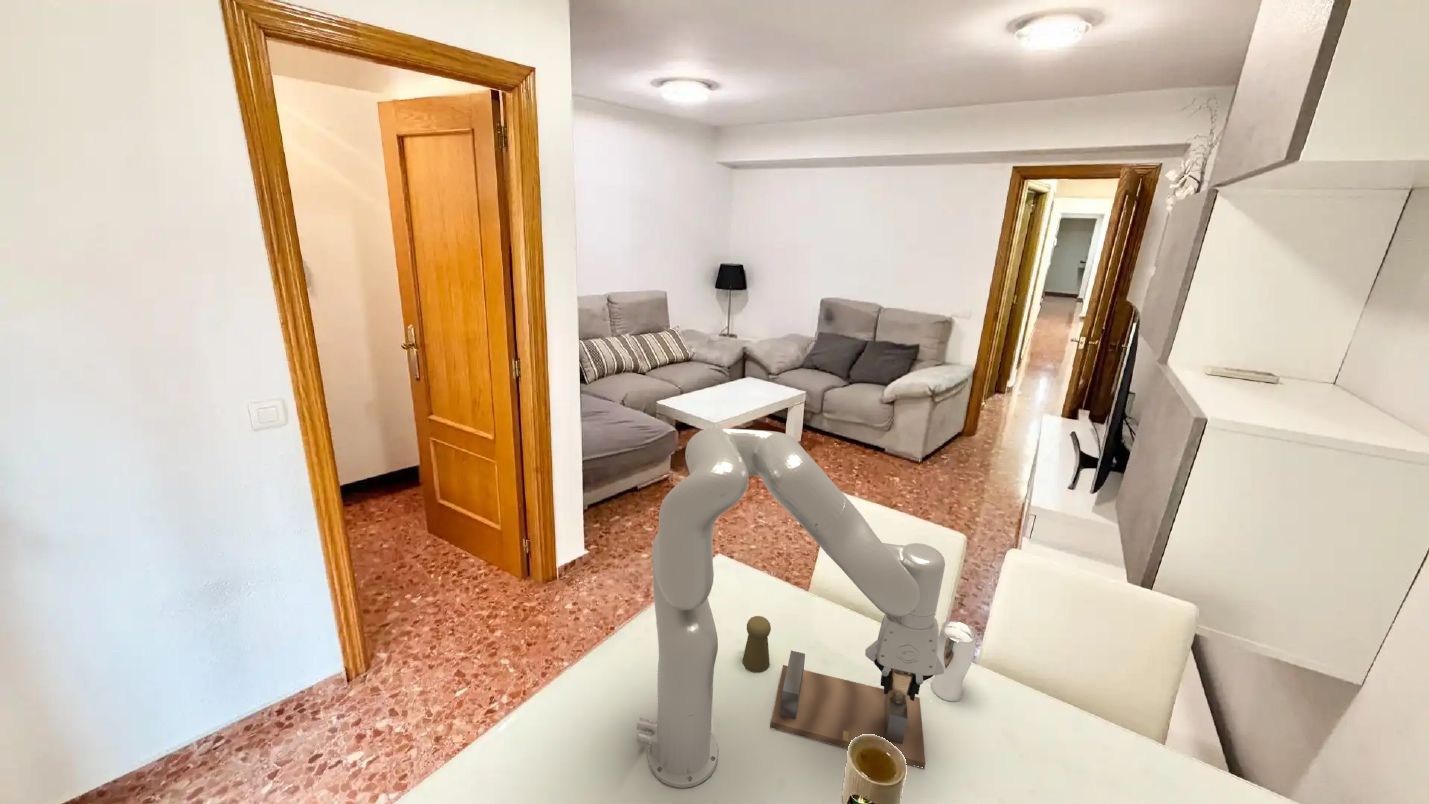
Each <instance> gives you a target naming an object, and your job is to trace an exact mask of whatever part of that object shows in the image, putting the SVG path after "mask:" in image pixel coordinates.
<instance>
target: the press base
mask: <svg viewBox="0 0 1429 804" xmlns="http://www.w3.org/2000/svg"><path fill="white" fill-rule="evenodd" d="M805 658H806V653H804V652H800V651H796V650H790V654H789V658H788V662H787V665H785V664H782V669H781V673H780V677H779V678H780V679H779V681H778V687H777V691H776V697H775V701H774V705H773V709H772V713H771V714H772V715H771V719H770V727H769V728H770V729H774V730H778V731H782V732H785V733H789V734H793V735H796V736H799V737H802V738H807V739H811V740H815V741H818V742H823V743H827V744H829V745H833V746H836V747H840V748H844V749H847V748H848V746H849V744H850V742H851V740H853V739H854V738H855V737H858V736H860V735H862V734H875V735H877V736H880V737H883V738H885V739H886V720H885V695H886V694H884V688H880V687H877V686H873V685H868V684H864V683H860V682H856V681H852V680H848V679H844V678H841V677H840V678H839V677H834V676H831V675H826V674H823V673H818V672H815V671H810V670H807V669H805ZM920 699H921V698H920V697H919V696H915V698H914V701H912V700H911V699H910V696H909V700H908V702H907V724H906V729H905V734H904V740H903V744H901V743H898V742H894V741H890V740H888V741H889V742H891V743H892V744H893V745H894V746H896V747H897V748H898V749H899V750H900V751H901V752H902V754H903V755H904V757H905V759H906V763H907V764H906V765H908V766H910V765H915V766H919V767H923V768H924V769H925V768H926V755H925V745H924V743H925V742H924V733H923V731H924V730H923V721H922V710H921V700H920Z"/></svg>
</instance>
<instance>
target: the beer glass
mask: <svg viewBox="0 0 1429 804" xmlns="http://www.w3.org/2000/svg"><path fill="white" fill-rule="evenodd" d="M939 631H940V632H939V641H938V652H937V656H938V658H939V660H940V661H941V663H942V665H943V667H944V673H943V674H940V675H936V676H935V675H934V676H933V677H934V678H933V679H932V681H931V684H930V686H931V689H932V692H933V693H934V694H935V695H936V696H937V697H938V698H940V699H942V700H944V701H946V702H951V703H952V702H953V703H954V702H958V701H960V700H961V699H962V698H963V694H964V693H963V684H964V680H965V678H966V677H967V674H968V672H969V670H970V667H971V665H972V663H973V661H974V657H975V656H974V655H975V651H976V643H977V642H976V641H977V639H978V638H977V633H976V631H975V630H974V629H973V628H971V627H970V626H969V625H967V624H966V623H964V622H960V621H957V620H948V621H945V622H943V623H942V624H941V628H940V630H939Z"/></svg>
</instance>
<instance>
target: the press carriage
mask: <svg viewBox="0 0 1429 804" xmlns="http://www.w3.org/2000/svg"><path fill="white" fill-rule="evenodd" d="M913 674H914V673H910V672H906V671H902V670H897V669H893V668H891V670H890V676H891V679H890V685H889V691H888V694H886V695H885V720H886V740H890V741H894V742H898V743H901V744H903V740H904V734H905V729H906V724H907V702H908V700H909V696H910V690H911V685H912V680H913Z"/></svg>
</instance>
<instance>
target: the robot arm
mask: <svg viewBox="0 0 1429 804" xmlns="http://www.w3.org/2000/svg"><path fill="white" fill-rule="evenodd" d="M684 454H685V463H686V466H687V470H688V472H689V475H688V476H687V477H685V478H684V479H682V480H681V481H679V482H678V483H677V484H676V485H675V486H673V488H672V489H671V490H670V491H669V492H668V493H667V494H666V495H665V496H664V499H663V500H662V502H661V505H660V508H659V513H658V531H657V534H655V537H654V539H653V542H652V548H651V549H652V550H651V551H652V552H651V556H652V557H651V558H652V559H651V561H652V581H653V584H652V585H653V586H652V587H653V601H654V611H655V613H654V614H655V620H656V621H655V622H656V623H655V624H656V630H657V632H656V633H657V642H658V643H657V644H658V660H657V661H658V663H657V720H655V721H651V720H649V719H647V718H643V717H639V718H638V720H637V722H636V723H637V724H636V729H637V730H639V731H642V732H639V734H638V737H637V741H638V742H641V743H643V744H644V743H646V744H649V746H648V751H647V752H648V753H647V754H648V755H647V756H648V763H649V768H650V769H651V771H652V773H653V774H654V776H655V777H656V778H657V779H658V780H660V781H661V782H662V783H664V784H665V785H668V786H670V787H672V788H673V787H674V788H679V789H681V788H682V789H683V788H690V787H691V788H692V787H695V786H697V785H699V784H702V783H704V782H705V781H706V780H707V779H708V778H710V777H711V775H712V774H713V773H714V771H715V770H716V768H717V767H716V766H717V764H718V760H719V745H718V742H717V739H716V737H715V735H713V732H712V719H713V718H712V715H713V713H712V712H713V698H714V697H713V692H714V671H715V664H716V659H717V655H718V651H719V650H718V649H719V643H718V642H719V639H718V633H717V629H716V623H715V620H714V617H713V613H712V612H713V611H712V609H711V605H710V602H709V598H708V597H709V596H710V593H711V591H712V588H713V584H714V577H715V576H714V575H715V572H714V571H715V570H714V560H713V559H714V556H713V538H714V537H713V536H714V526H715V523H716V521H717V520H718V519H719V518H720V516H721V515H723V514H724V513H725V512H727V511H729V510H730V509H731V508H732V507H734V506H735V505H736V504H737V503H739V502H740V500H741V499H742V498H743V497H744V495H745V494H746V492H747V490H748V488H749V487H748V486H749V479H750V477H756V476H757V477H758V476H759V477H760V479H761V481H762V483H763V484H764V485H765V486H764V487H766V490H767V491H768V492H769V494H770V495H771V496H772V497H773V498H774V499H775V500H776V501H777V503H779V504H780V506H781V507H783V508H784V509H785V510H786V511H787V513H788V514H789V515H790V516H792V518H793V519H794V520H795V521H796V522H797V523H798V524H799V525H800V526H801V527H802V528H803V529H804V530H805V531H806V532H807V533H808V535H809V536H810V537H812V539H813V540H814V541H815V542H816V543H817V544H818V545H819V547H820V548H821V550H823V551H824V553H826V555H827V556H828V557H829V558H830V559H831V560H832V561H833V562H834V563H835V564H836V565H837V566H838V567H839V568H840V569H841V570H842V571H843V572H844V574H845V575H846V576H847V577H848V578H849V580H851V581H852V583H853V584H854V585H855V586H856V587H857V588H858V590H860V591H861V593H863V595H864V596H865V597H866V598H867V599H868V600H869V601H870V602H871V603H872V604H873V605H874V606H875V607H876V608H877V609H878V611H880V612H881V613H883V614H884V615H883V618H882V620H881V621H882V622H881V625H880V628H879V632H878V637H877V640H875V641H874V642H872V643H871V644H870V645H869V646H868V647H866V648H865V651H864V654H865V655H864V656H865V657H866V658H868V659H869V660H870V661H872V662H873V664H874V665H875V666H876V667H877V668H878V669H879V671H880V672H881V676H880V686H881V687H883V689H884V694H888V691H889V685H890V679H891V676H890V671H891V668H893V669H897V670H902V671H906V672H910V673H914V674H913V680H912V685H911V690H910V699H911V700H912V701H914V698H915V697H916V695H917V696H919V693H920V689H921V685H923V684H924V682H925V681H927V680H929V679H932V678H933V677H935V676H936V675H940V674H943V673H944V667H943V665H942V663H941V661H940V660H939V658H938V656H937V652H938V641H939V634H940V632H939V631H940V630H939V624H938V620H937V618H936V614H937V609H938V605H939V599H940V594H941V588H942V584H943V579H944V573H945V567H946V560H945V558H944V556H943V554H942V553H941V552H940V551H939V550H938V549H936V548H935V547H933V546H930V545H929V544H925V543H909V544H905V545H903V544H900V545H899V544H894V543H893V544H892V543H886V542H882V540H880V538H879V537H878V536H877V534H876V533H875V531H874V530H873V529H872V527H871V526H870V524H869V523H868V522H867V521H866V519H865V518H864V516H863V515H862V513H860V511H859V510H858V509H857V508H856V506H855V505H854V504H853V503H852V502H851V501H850V499H848V498H847V496H846V495H845V494H844V493H843V492H842V491H841V489H840V488H839V487H838V486H837V485H836V484H835V483H834V482H833V481H832V479H831V478H830V477H829V476H828V475H827V474H826V472H825V471H823V469H822V468H821V467H820V466H819V465H818V463H817V462H816V461H815V460H814V459H813V458H812V456H811V455H809V453H807V450H805V449H804V448H803V446H802V445H801V444H800V443H799V441H797V440H796V439H795V438H794V436H791V435H789V434H787V433H783V432H779V431H772V430H761V429H760V430H758V429H745V428H744V429H743V428H731V427H729V428H728V427H710V428H705V429H703V430H700V431H698V432H696V433H695V434H694V435H693V436H692V437H691V438H690V439H689V441H688V442H687V444H686V447H685V453H684ZM644 732H645V733H644ZM646 732H648V733H651V734H652V735H649V734H647V733H646Z"/></svg>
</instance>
